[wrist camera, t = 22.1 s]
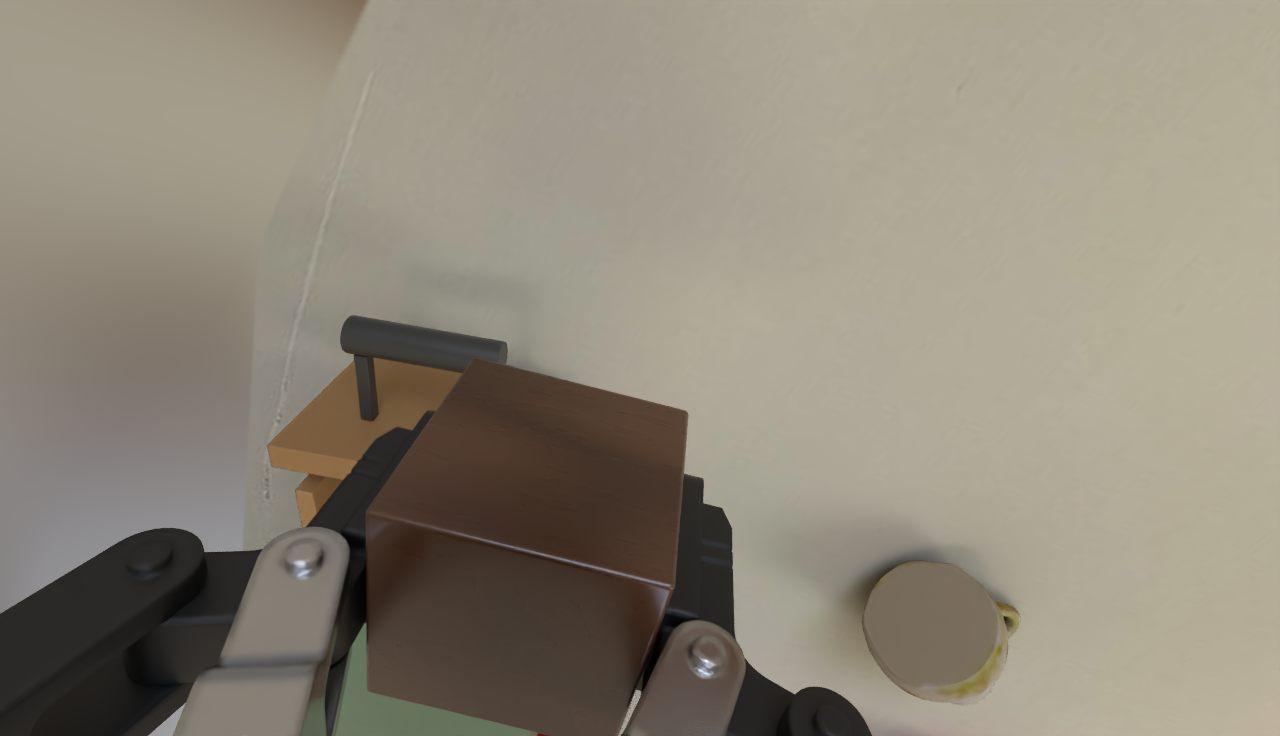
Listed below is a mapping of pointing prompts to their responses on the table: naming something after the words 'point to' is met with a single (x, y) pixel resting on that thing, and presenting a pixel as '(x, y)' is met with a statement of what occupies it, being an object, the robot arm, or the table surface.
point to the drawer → (372, 399)
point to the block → (526, 552)
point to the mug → (938, 632)
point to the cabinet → (402, 710)
